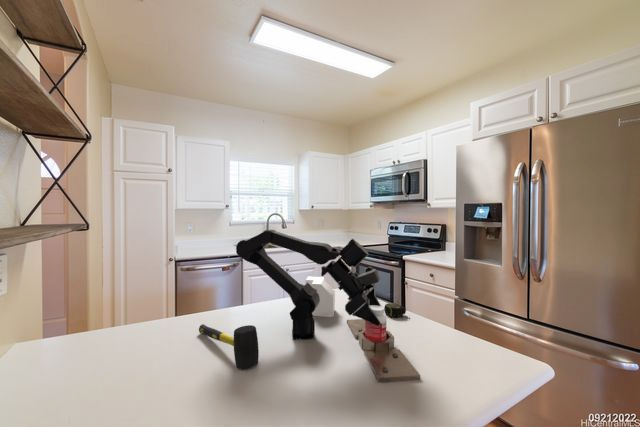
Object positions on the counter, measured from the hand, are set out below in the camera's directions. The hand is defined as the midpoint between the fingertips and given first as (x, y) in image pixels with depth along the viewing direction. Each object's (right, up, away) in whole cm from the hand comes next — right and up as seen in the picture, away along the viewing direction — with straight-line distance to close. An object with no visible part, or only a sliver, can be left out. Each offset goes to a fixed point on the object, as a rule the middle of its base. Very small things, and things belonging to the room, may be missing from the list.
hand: (381, 318), depth 79 cm
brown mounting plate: (-1, -8, +1) cm, 8 cm away
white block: (-18, -8, +28) cm, 34 cm away
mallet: (-45, -8, -2) cm, 46 cm away
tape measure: (+11, -8, +25) cm, 28 cm away
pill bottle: (-2, -8, +1) cm, 8 cm away
